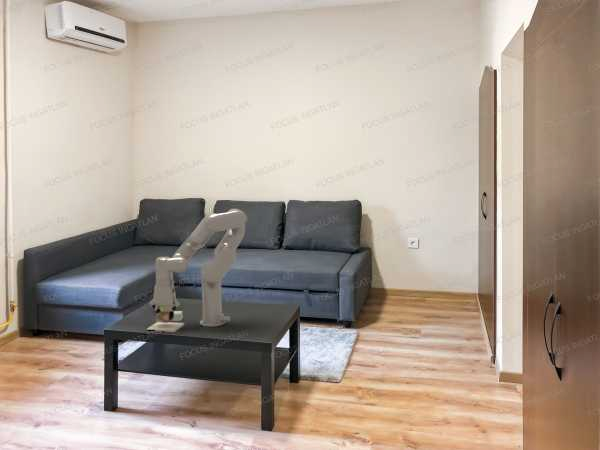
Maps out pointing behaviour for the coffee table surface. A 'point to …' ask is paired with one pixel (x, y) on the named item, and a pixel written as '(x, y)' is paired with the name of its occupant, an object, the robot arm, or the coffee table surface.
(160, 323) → the baseplate
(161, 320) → the oak block
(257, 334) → the coffee table surface
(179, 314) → the sage block
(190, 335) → the coffee table surface
